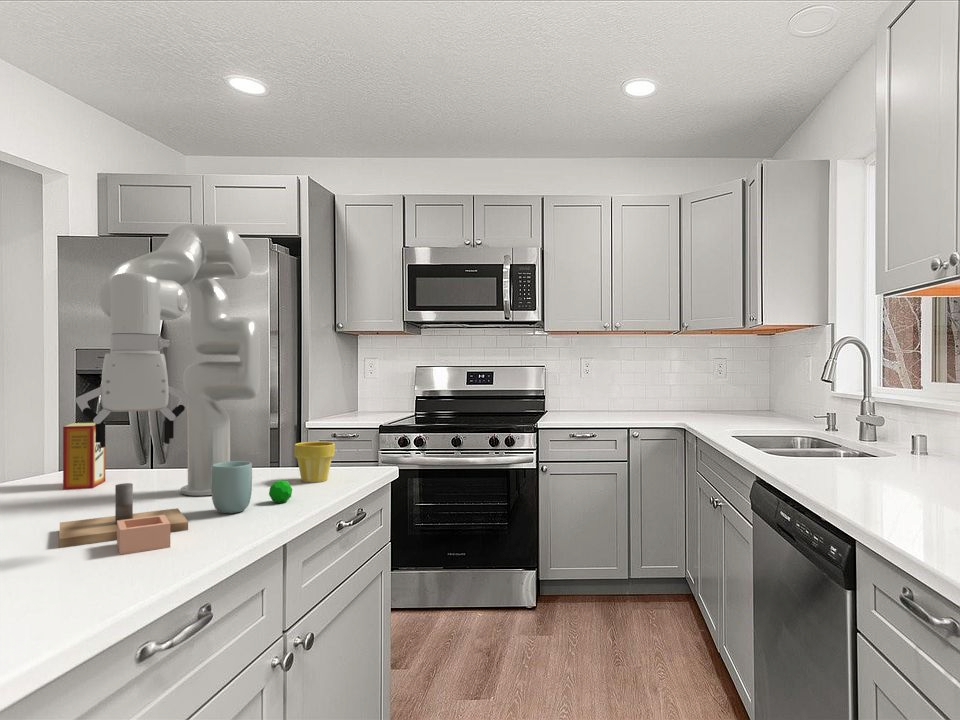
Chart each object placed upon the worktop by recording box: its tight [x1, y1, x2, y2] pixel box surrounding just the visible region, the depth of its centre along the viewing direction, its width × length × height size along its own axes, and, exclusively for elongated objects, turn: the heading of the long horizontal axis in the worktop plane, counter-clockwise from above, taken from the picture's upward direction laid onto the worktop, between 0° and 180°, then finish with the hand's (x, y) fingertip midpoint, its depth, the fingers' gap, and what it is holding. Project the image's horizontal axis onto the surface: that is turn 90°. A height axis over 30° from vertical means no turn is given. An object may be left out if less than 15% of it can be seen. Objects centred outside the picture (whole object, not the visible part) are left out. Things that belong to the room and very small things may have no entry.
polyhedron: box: [268, 479, 293, 504], centre depth 139 cm, size 5×5×5 cm
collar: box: [116, 515, 171, 555], centre depth 106 cm, size 7×7×4 cm
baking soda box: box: [62, 421, 106, 491], centre depth 159 cm, size 10×6×16 cm
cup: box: [211, 460, 253, 515], centre depth 130 cm, size 8×8×10 cm
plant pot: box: [294, 441, 336, 483], centre depth 165 cm, size 10×10×10 cm
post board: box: [58, 482, 189, 548], centre depth 116 cm, size 20×13×8 cm, turn 124°
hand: (135, 444), depth 107 cm, fingers open, 9 cm apart
